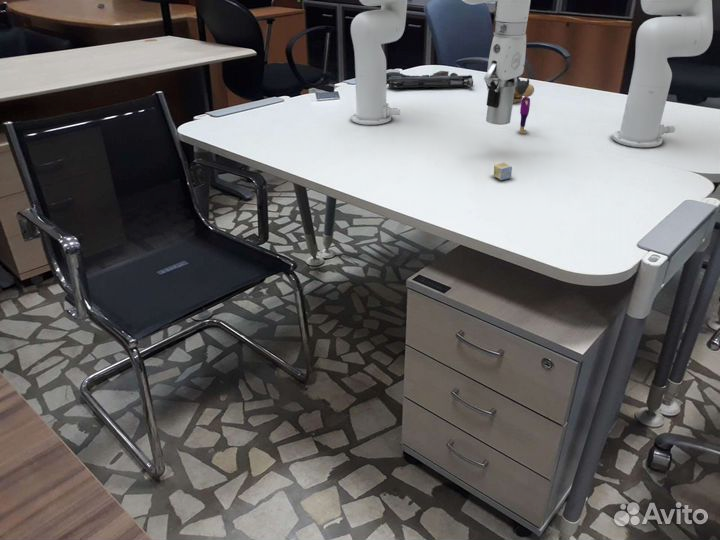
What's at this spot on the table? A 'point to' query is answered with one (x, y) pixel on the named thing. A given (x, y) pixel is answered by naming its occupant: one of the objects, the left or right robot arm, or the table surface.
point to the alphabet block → (502, 171)
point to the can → (502, 105)
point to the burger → (517, 97)
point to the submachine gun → (428, 80)
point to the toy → (524, 101)
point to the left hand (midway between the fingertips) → (500, 103)
